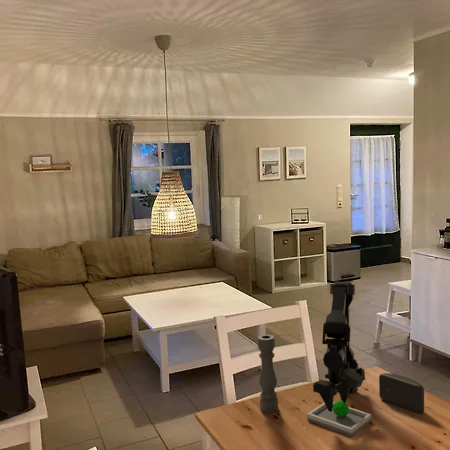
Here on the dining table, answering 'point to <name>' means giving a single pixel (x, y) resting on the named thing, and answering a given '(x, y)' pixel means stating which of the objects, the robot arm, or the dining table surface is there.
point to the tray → (340, 419)
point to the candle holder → (267, 374)
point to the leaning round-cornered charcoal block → (402, 391)
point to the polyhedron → (340, 408)
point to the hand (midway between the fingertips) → (337, 407)
